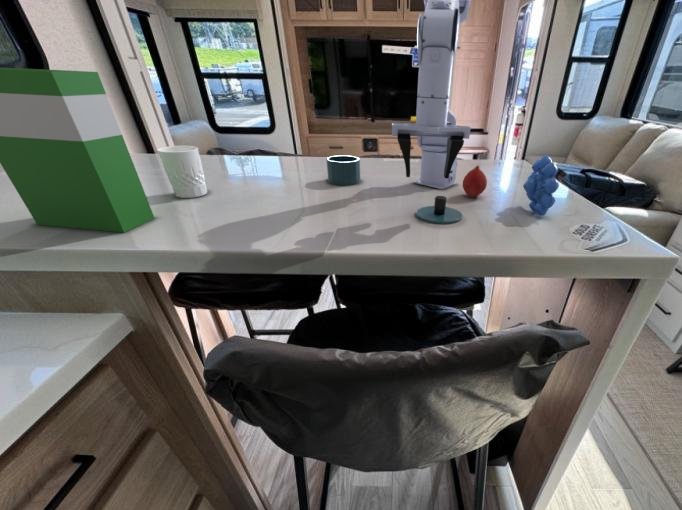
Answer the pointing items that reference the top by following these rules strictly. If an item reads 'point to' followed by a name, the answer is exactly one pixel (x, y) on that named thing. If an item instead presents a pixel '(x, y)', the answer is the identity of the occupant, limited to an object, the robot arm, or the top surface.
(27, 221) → the top surface
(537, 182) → the grapes
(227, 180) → the top surface
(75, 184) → the hardback book
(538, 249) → the top surface
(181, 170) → the white cup
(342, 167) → the pot
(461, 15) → the robot arm
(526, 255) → the top surface
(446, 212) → the lid
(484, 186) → the onion
